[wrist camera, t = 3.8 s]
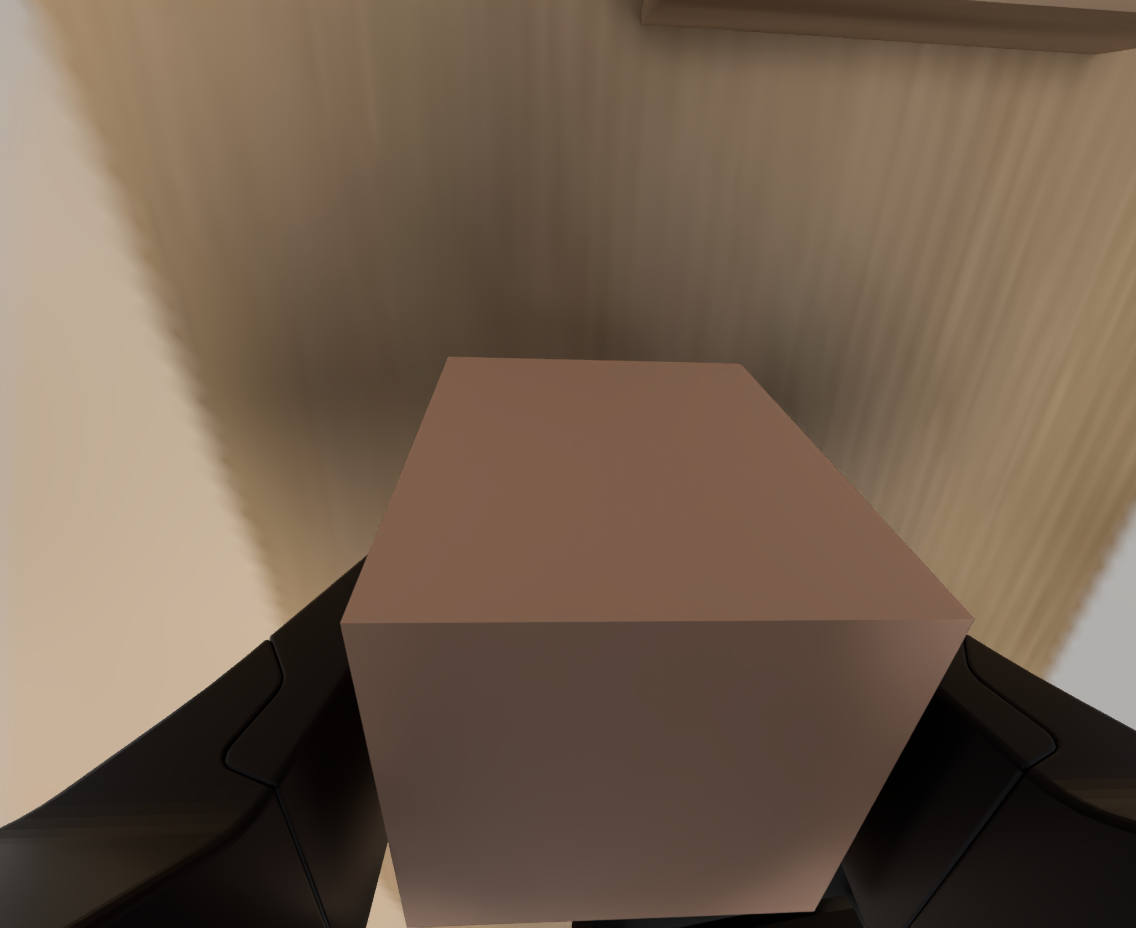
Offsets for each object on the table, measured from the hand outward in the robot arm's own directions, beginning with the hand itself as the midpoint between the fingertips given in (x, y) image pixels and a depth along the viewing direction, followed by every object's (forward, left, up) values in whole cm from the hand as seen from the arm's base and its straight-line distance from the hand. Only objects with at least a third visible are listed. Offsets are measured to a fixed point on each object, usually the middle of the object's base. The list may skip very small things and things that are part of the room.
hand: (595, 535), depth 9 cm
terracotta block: (0, 0, -2) cm, 2 cm away
